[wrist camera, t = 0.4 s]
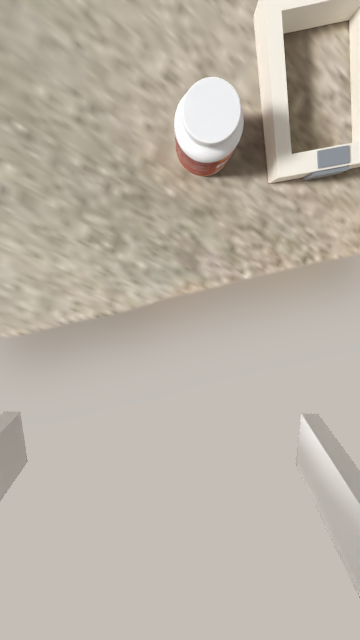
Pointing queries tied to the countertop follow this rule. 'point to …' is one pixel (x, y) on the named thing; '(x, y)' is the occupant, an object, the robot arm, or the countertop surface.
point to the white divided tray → (270, 24)
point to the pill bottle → (208, 126)
